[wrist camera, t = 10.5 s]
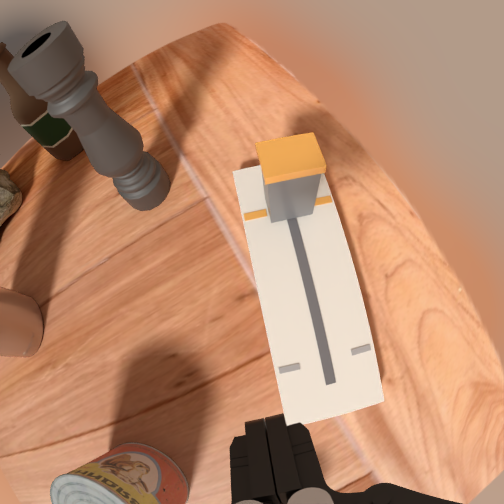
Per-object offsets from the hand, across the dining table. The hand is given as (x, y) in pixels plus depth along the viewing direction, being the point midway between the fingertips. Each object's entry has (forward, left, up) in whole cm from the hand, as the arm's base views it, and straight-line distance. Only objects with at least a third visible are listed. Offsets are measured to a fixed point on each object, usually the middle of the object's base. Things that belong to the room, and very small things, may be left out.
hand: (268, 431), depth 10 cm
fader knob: (-8, +15, -17) cm, 24 cm away
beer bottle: (-45, +10, -20) cm, 51 cm away
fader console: (-2, +10, -20) cm, 23 cm away
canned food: (-4, -21, -20) cm, 30 cm away
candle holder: (-25, +10, -20) cm, 34 cm away
